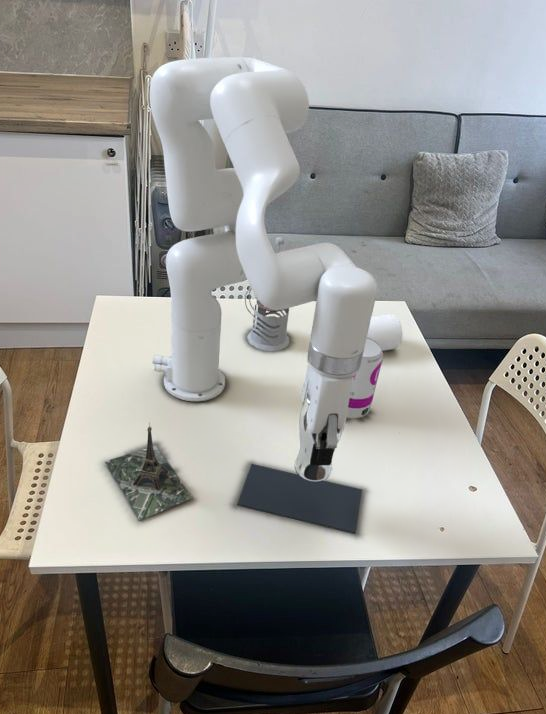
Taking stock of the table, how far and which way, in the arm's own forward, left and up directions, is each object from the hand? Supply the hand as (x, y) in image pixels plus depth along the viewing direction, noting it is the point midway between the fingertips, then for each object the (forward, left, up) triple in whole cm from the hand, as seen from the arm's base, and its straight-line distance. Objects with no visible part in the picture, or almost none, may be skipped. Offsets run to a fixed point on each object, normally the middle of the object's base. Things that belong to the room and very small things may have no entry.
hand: (316, 447), depth 100 cm
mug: (+5, +54, -13) cm, 55 cm away
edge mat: (-1, +1, -13) cm, 13 cm away
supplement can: (+4, +29, -13) cm, 32 cm away
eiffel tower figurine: (-27, -3, -13) cm, 30 cm away
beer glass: (0, 0, -5) cm, 5 cm away
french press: (-18, +48, -13) cm, 53 cm away
